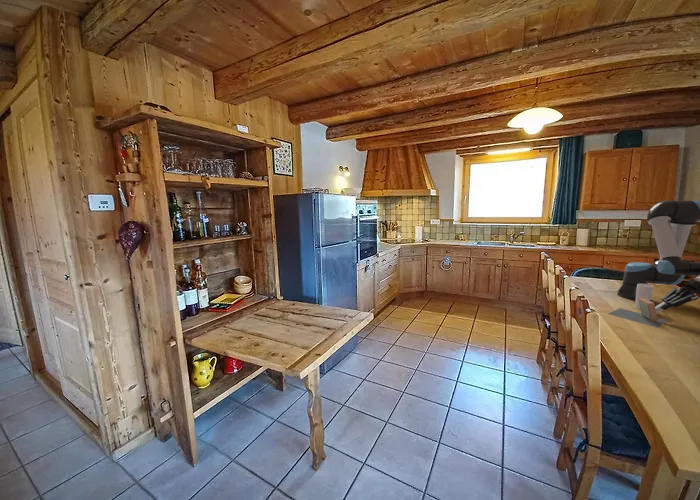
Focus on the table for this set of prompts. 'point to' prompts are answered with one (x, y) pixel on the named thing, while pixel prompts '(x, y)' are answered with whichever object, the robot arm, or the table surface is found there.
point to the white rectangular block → (643, 293)
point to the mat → (637, 317)
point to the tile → (648, 309)
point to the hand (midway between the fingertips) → (654, 311)
